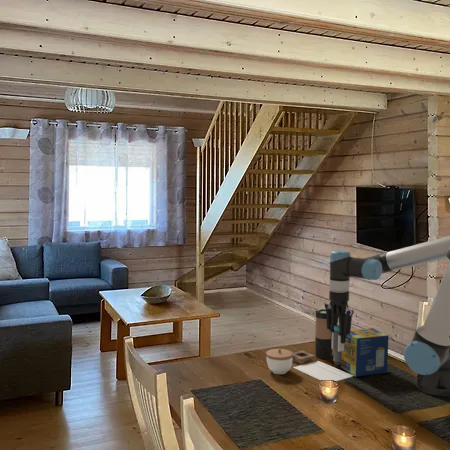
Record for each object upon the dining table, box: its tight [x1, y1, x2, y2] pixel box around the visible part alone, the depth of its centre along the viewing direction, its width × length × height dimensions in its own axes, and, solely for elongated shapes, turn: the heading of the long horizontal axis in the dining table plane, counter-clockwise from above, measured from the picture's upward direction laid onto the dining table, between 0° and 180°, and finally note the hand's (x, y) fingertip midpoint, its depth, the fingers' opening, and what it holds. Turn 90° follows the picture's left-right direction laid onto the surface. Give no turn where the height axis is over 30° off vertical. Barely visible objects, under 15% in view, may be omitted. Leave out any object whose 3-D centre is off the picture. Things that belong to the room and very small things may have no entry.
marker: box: [332, 324, 342, 366], centre depth 191 cm, size 3×3×15 cm
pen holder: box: [292, 350, 316, 366], centre depth 211 cm, size 8×8×2 cm
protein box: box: [340, 328, 389, 377], centre depth 198 cm, size 10×15×16 cm
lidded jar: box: [265, 348, 294, 375], centre depth 198 cm, size 11×11×9 cm
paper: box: [293, 360, 354, 383], centre depth 197 cm, size 20×14×1 cm
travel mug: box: [314, 308, 333, 359], centre depth 216 cm, size 8×8×20 cm
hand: (337, 349), depth 192 cm, fingers closed on marker, 3 cm apart
